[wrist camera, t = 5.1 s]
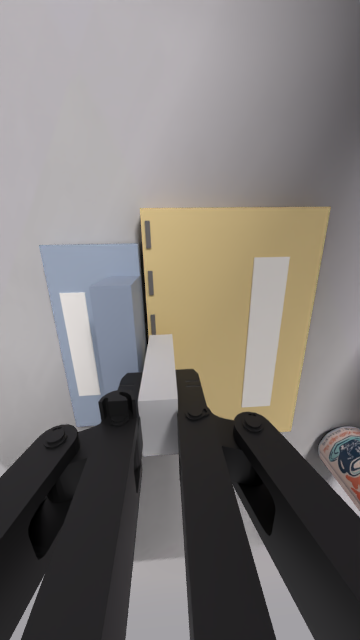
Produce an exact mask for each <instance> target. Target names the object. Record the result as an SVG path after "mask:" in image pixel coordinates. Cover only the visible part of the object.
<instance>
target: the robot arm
mask: <svg viewBox="0 0 360 640" xmlns="http://www.w3.org/2000/svg"><path fill="white" fill-rule="evenodd" d="M98 404H99V410H100V416H101V423H100V424H98V425H97V426H95V427H92V428H89V429H86V430H83V431H80V432H77V429H76V428H75V427H74V426H72V425H69V424H67V425H59V426H56V427H53V428H51V429H49V430H47V431H46V432H44V433H43V434H42V435H41V436H39V437H38V438H37V440H36V441H35V442H34V443H33V444H32V445H31V446H30V447H29V448H28V449H27V450H26V451H25V452H24V453H23V454H22V455H21V456H20V457H19V458H18V459H17V460H16V462H15V463H14V464H13V465H12V466H11V467H10V468H9V469H8V470H7V471H6V472H5V473H4V474H3V475H2V476H1V477H0V640H9V639H10V638H11V636H12V634H13V632H14V630H15V628H16V626H17V625H18V623H19V621H20V619H21V617H22V615H23V614H24V612H25V610H26V608H27V606H28V604H29V602H30V600H31V599H32V597H33V595H34V593H35V591H36V589H37V587H38V585H39V584H40V582H41V580H42V578H43V576H44V578H43V581H42V584H41V586H40V589H39V592H38V594H37V597H36V600H35V603H34V605H33V608H32V611H31V613H30V616H29V619H28V622H27V625H26V627H25V630H24V633H23V635H22V638H21V640H125V638H126V637H125V636H126V626H127V618H128V608H129V597H130V587H131V578H132V568H133V558H134V548H135V538H136V528H137V518H138V508H139V498H140V488H141V477H142V462H141V458H142V450H143V457H145V456H158V455H171V454H179V474H180V486H181V502H182V518H183V534H184V550H185V566H186V581H187V597H188V614H189V630H190V640H276V637H275V634H274V630H273V626H272V623H271V619H270V616H269V612H268V609H267V605H266V602H265V598H264V595H263V591H262V588H261V584H260V581H259V577H258V574H257V570H256V567H255V563H254V559H253V556H252V552H251V549H250V545H249V542H248V538H247V535H246V531H245V528H244V524H243V520H242V517H241V513H240V510H239V506H238V503H237V499H236V496H235V492H234V489H233V486H234V488H235V490H236V492H237V494H238V496H239V498H240V499H241V501H242V503H243V505H244V507H245V509H246V511H247V513H248V515H249V516H250V518H251V520H252V522H253V524H254V526H255V528H256V530H257V532H258V534H259V535H260V537H261V539H262V541H263V543H264V545H265V547H266V549H267V551H268V552H269V554H270V556H271V558H272V560H273V562H274V564H275V566H276V567H277V569H278V571H279V573H280V575H281V577H282V579H283V581H284V583H285V585H286V586H287V588H288V590H289V592H290V594H291V596H292V598H293V600H294V602H295V603H296V605H297V607H298V609H299V611H300V613H301V615H302V617H303V618H304V620H305V622H306V624H307V626H308V628H309V630H310V632H311V633H312V635H313V637H314V639H315V640H360V517H359V516H358V515H357V514H356V513H355V512H354V511H353V510H352V509H351V508H350V507H349V506H348V505H347V504H346V502H345V501H344V500H343V499H342V498H341V497H340V496H339V495H338V494H337V493H336V492H335V491H334V490H333V489H332V488H331V486H330V485H329V484H328V483H327V482H326V481H325V480H324V479H323V478H322V477H321V476H320V475H319V474H318V473H317V472H316V471H315V469H314V468H313V467H312V466H311V465H310V464H309V463H308V462H307V461H306V460H305V459H304V458H303V457H302V456H301V455H300V453H299V452H298V451H297V450H296V449H295V448H294V447H293V446H292V445H291V444H290V443H289V442H288V441H287V440H286V439H285V437H284V436H283V435H282V434H281V433H280V432H279V431H278V430H277V429H276V428H275V427H274V426H273V425H272V424H271V423H270V422H269V420H267V419H266V418H265V417H264V416H262V415H260V414H257V413H254V412H242V413H240V414H238V415H237V416H236V417H235V418H234V420H230V419H225V418H221V417H218V416H216V415H214V414H213V413H212V412H211V410H210V409H209V408H208V407H207V404H206V401H205V397H204V393H203V389H202V386H201V382H200V378H199V374H198V373H197V372H196V371H195V370H194V369H179V370H175V360H174V349H173V337H172V334H165V335H149V341H148V347H147V352H146V358H145V363H144V369H143V372H135V373H127V374H126V375H125V376H124V377H123V378H122V379H121V381H120V384H119V387H118V390H116V391H112V392H110V393H107V394H106V395H104V396H103V397H102V398H101V399H100V400H99V402H98ZM232 484H233V485H232ZM45 572H46V573H45ZM44 574H45V575H44Z"/></svg>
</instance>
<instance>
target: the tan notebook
mask: <svg viewBox="0 0 360 640" xmlns="http://www.w3.org/2000/svg"><path fill="white" fill-rule="evenodd" d="M330 209H331V207H230V208H140V217H141V232H142V247H143V261H144V276H145V291H146V306H147V321H148V335H165V334H172V337H173V349H174V360H175V370H179V369H194V370H195V371H196V372H197V373H198V374H199V378H200V382H201V386H202V389H203V393H204V397H205V401H206V404H207V407H208V408H209V409H210V410H211V412H212V413H213V414H214V415H216V416H218V417H221V418H225V419H230V420H234V418H235V417H236V416H237V415H238V414H240V413H242V412H254V413H257V414H260V415H262V416H264V417H265V418H266V419H267V420H269V422H270V423H271V424H272V425H273V426H274V427H275V428H276V429H277V430H278V431H279V432H288V431H291V428H292V422H293V416H294V411H295V405H296V400H297V394H298V388H299V383H300V377H301V371H302V366H303V360H304V355H305V349H306V343H307V338H308V332H309V327H310V321H311V315H312V310H313V304H314V298H315V293H316V287H317V282H318V276H319V270H320V265H321V259H322V254H323V248H324V242H325V237H326V231H327V226H328V220H329V214H330Z"/></svg>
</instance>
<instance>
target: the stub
mask: <svg viewBox="0 0 360 640" xmlns="http://www.w3.org/2000/svg"><path fill="white" fill-rule="evenodd" d="M39 247H40V252H41V257H42V262H43V267H44V271H45V276H46V281H47V286H48V291H49V296H50V300H51V305H52V310H53V315H54V320H55V324H56V329H57V334H58V339H59V344H60V349H61V353H62V358H63V363H64V368H65V373H66V378H67V382H68V387H69V392H70V397H71V402H72V406H73V411H74V416H75V421H76V426H77V427H80V426H96V425H98V424H100V423H101V416H100V410H99V404H98V402H99V400H100V399H101V398H102V397H103V396H104V395H106V394H107V393H110V392H112V391H116V390H118V387H119V384H120V381H121V379H122V378H123V377H124V376H125V375H126V374H127V373H135V372H143V369H144V363H145V358H146V352H147V345H146V331H145V317H144V303H143V289H142V275H141V261H140V247H139V244H138V243H137V244H78V245H39Z"/></svg>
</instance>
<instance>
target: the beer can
mask: <svg viewBox="0 0 360 640" xmlns="http://www.w3.org/2000/svg"><path fill="white" fill-rule="evenodd" d="M318 454H319V457H320V458H321V460H322V461H323V462H324V464H325V465H326V466H327V468H328V469H329V470H330V472H331V473H332V474H333V476H334V477H335V478H336V480H337V481H338V482H339V484H340V485H341V487H342V488H343V489H344V491H345V492H346V493H347V495H348V496H349V497H350V499H351V500H352V501H353V503H354V504H355V505H356V507H357V508H358V509H359V511H360V429H359V428H356V427H353V426H345V427H340V428H336V429H334V430H332V431H330V432H328V433H327V434H326V435H325V436H324V437H323V439H322V441H321V442H320V444H319V447H318Z"/></svg>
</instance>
